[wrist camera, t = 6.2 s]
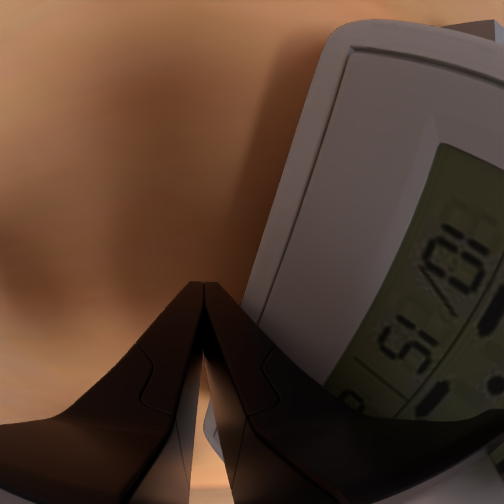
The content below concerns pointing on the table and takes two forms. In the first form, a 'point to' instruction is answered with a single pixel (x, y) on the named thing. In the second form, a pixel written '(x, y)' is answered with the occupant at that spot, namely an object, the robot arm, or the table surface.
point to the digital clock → (392, 227)
